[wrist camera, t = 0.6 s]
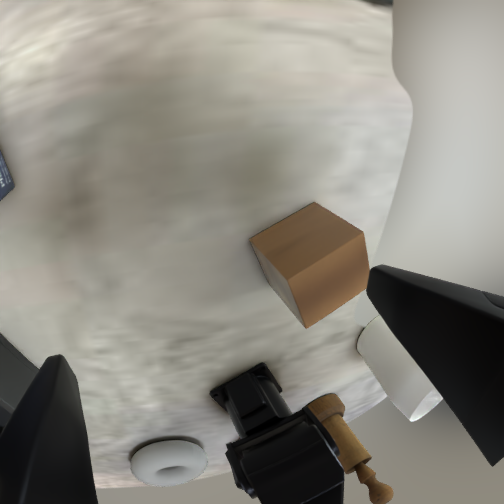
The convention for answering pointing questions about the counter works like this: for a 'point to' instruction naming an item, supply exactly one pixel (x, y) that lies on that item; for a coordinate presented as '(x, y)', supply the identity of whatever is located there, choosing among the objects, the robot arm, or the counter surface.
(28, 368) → the open box
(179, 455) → the donut
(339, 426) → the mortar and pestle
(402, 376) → the cup
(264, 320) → the counter surface
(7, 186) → the small box
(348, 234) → the cardboard box
